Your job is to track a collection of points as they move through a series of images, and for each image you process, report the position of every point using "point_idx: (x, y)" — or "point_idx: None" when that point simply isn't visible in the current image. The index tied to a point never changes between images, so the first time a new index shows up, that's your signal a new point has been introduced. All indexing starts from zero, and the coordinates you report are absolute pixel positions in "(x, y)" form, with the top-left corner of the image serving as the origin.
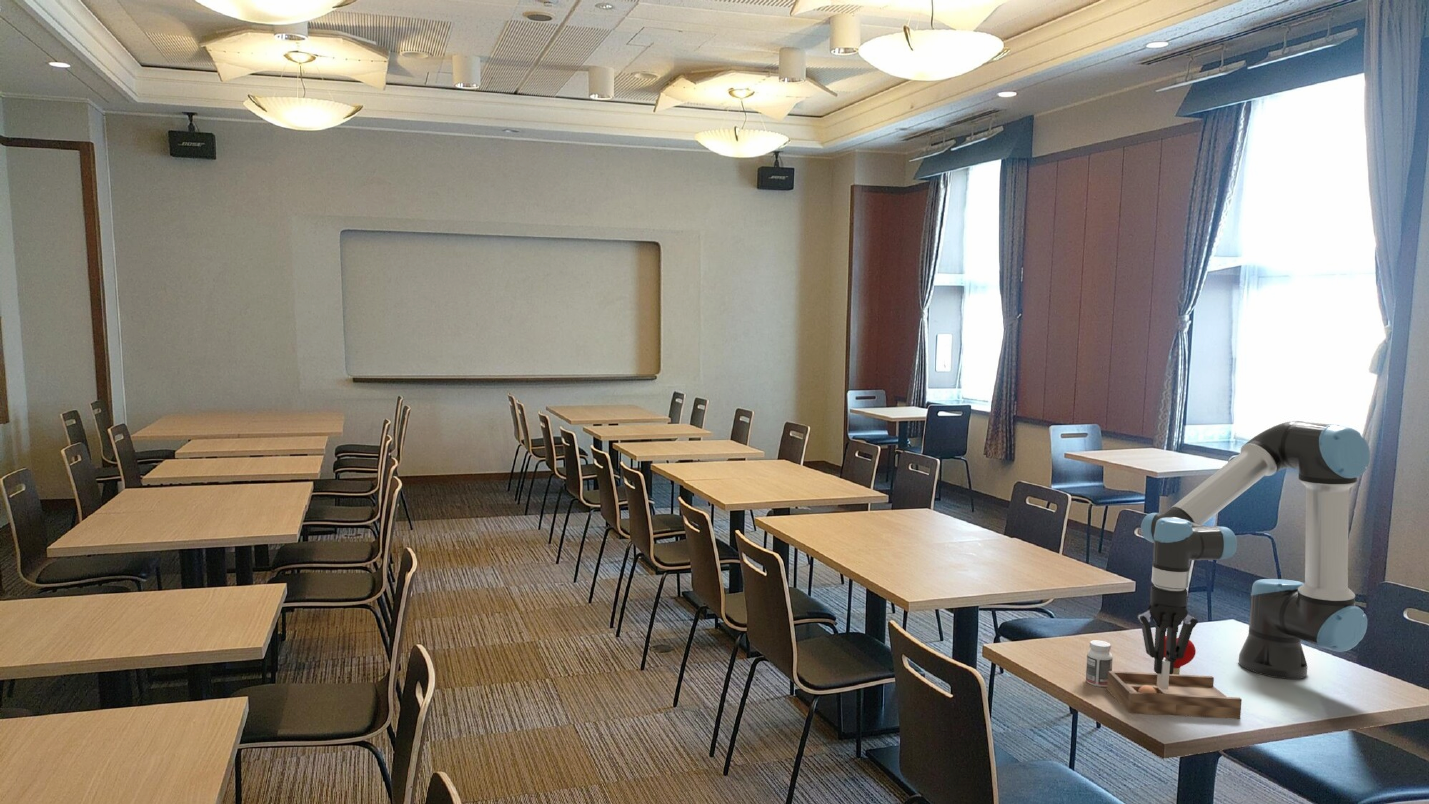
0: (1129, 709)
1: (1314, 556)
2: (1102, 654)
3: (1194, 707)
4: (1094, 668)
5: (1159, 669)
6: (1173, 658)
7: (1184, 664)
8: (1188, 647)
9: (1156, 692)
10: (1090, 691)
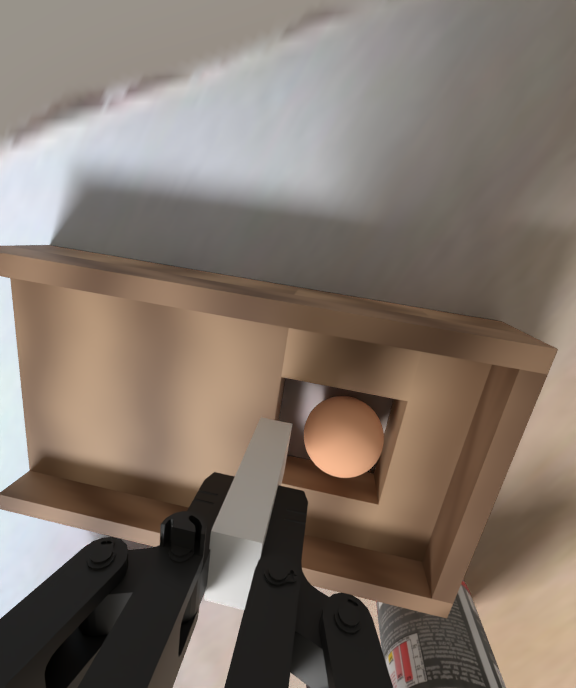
0: (509, 326)
1: None
2: None
3: (210, 278)
4: (488, 651)
5: (287, 508)
6: (174, 550)
7: None
8: None
9: (310, 425)
10: (510, 533)
